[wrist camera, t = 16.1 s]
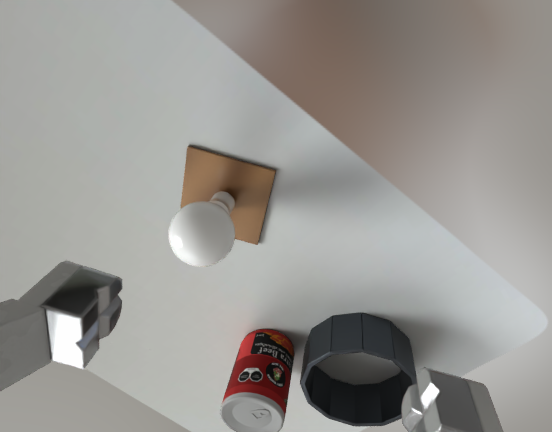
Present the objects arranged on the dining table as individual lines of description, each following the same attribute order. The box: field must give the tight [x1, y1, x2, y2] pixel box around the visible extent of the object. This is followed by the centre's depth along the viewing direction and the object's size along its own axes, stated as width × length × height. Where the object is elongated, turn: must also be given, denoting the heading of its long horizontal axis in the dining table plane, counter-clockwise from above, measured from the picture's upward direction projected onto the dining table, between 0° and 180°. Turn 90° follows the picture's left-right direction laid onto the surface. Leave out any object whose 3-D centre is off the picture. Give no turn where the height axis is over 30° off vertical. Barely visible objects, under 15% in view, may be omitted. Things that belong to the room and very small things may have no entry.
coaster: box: [181, 146, 276, 245], centre depth 44 cm, size 10×10×1 cm
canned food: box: [220, 329, 294, 432], centre depth 50 cm, size 8×8×11 cm
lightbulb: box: [168, 191, 235, 267], centre depth 39 cm, size 6×6×11 cm
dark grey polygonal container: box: [300, 313, 417, 426], centre depth 50 cm, size 14×14×6 cm
